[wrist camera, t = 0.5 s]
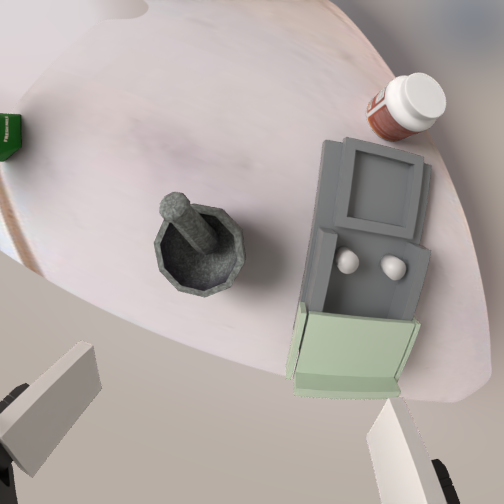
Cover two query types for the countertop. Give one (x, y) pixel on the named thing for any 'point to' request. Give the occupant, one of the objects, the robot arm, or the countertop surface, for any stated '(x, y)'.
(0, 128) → the milk carton
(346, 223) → the housing base
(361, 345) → the cover
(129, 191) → the countertop surface
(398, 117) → the pill bottle
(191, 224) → the mortar and pestle
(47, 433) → the robot arm
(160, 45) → the countertop surface
